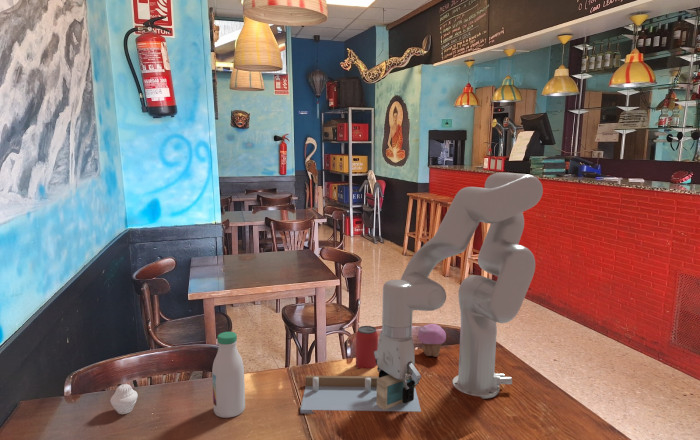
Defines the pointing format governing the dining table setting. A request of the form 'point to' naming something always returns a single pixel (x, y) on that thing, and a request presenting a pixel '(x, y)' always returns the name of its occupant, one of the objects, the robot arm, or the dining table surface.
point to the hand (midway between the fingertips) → (395, 393)
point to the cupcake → (431, 339)
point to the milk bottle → (228, 378)
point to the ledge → (347, 395)
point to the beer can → (366, 347)
